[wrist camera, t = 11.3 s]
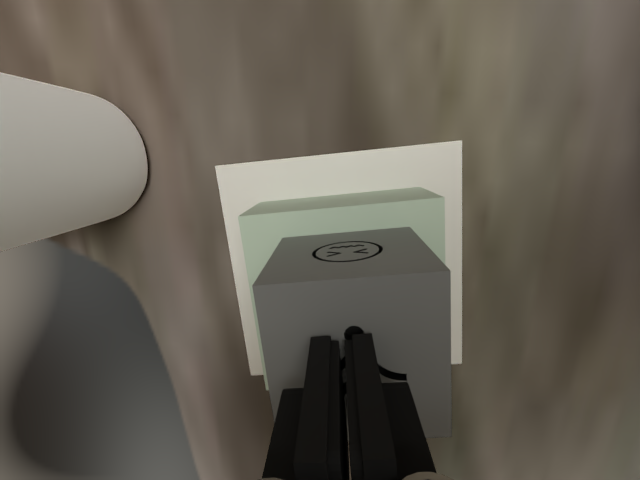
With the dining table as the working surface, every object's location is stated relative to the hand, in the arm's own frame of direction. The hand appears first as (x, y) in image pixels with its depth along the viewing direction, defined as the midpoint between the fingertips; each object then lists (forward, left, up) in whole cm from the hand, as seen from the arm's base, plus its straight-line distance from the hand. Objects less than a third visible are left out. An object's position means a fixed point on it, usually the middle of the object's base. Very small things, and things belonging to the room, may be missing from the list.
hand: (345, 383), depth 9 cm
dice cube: (0, -1, -5) cm, 5 cm away
